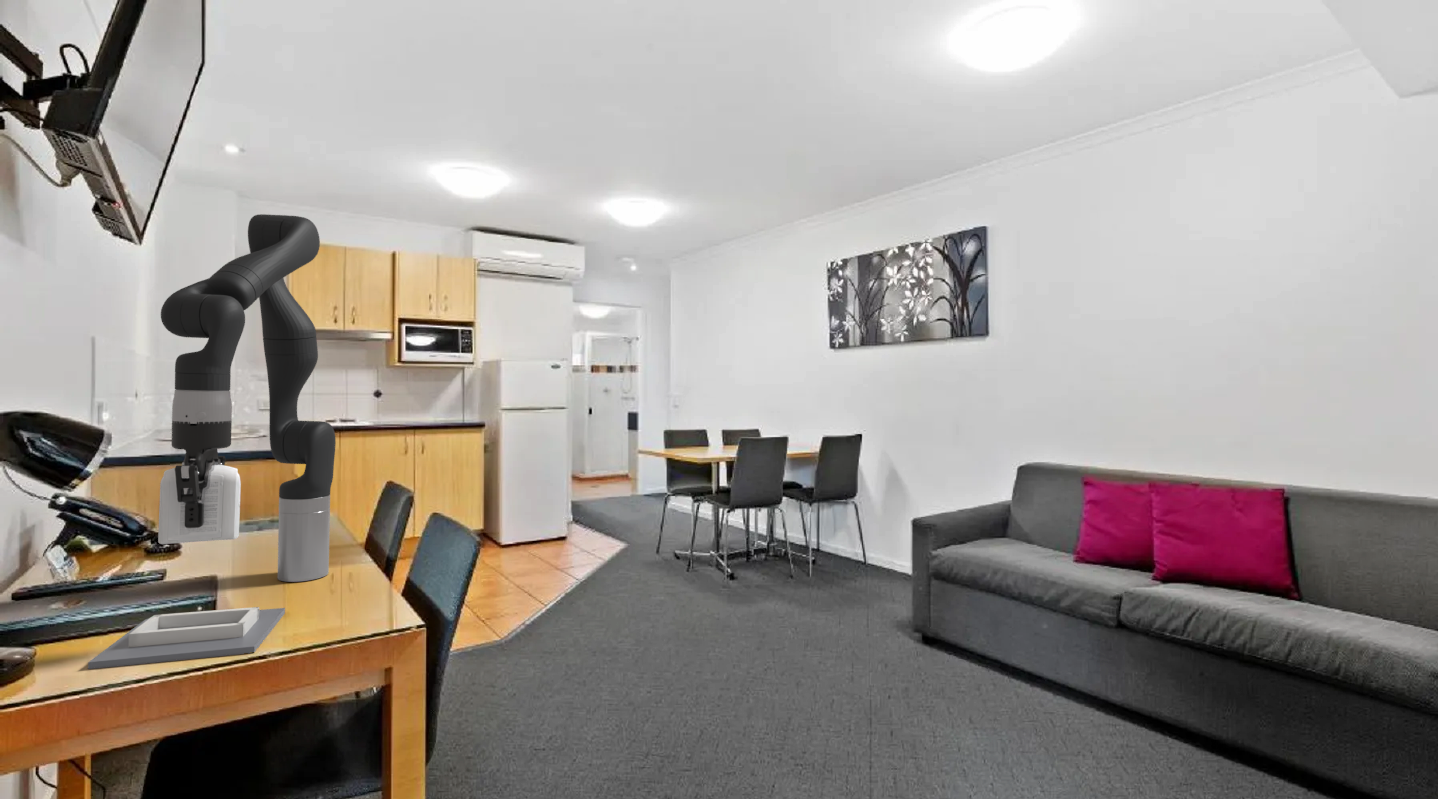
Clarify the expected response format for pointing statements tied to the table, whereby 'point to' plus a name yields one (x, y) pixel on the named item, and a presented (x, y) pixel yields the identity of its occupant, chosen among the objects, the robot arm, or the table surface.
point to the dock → (191, 636)
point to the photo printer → (217, 509)
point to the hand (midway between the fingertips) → (200, 523)
